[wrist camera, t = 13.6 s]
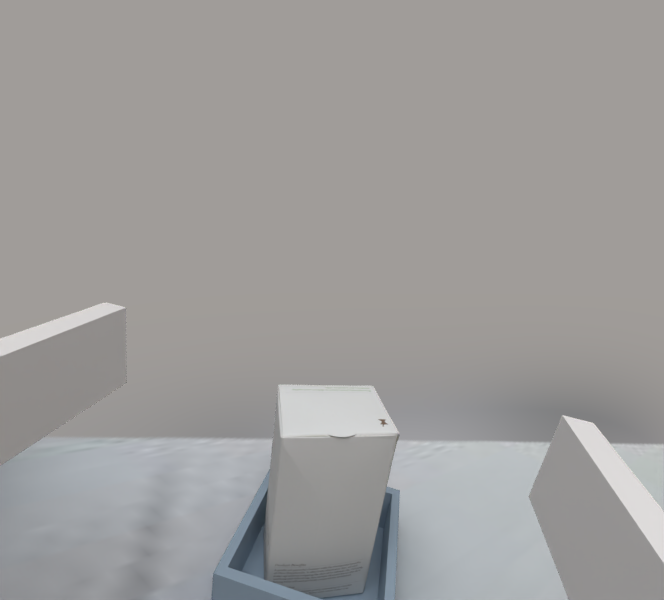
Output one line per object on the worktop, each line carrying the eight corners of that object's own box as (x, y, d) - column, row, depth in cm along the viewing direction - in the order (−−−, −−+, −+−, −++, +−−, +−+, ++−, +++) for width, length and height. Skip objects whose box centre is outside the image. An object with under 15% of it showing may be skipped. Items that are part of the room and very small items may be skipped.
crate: (209, 624, 27) (213, 573, 25) (272, 495, 38) (277, 455, 37) (378, 687, 25) (392, 635, 23) (389, 531, 36) (399, 490, 35)
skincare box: (348, 527, 35) (377, 383, 31) (366, 601, 29) (406, 434, 24) (259, 531, 33) (277, 379, 29) (258, 611, 27) (281, 433, 23)
